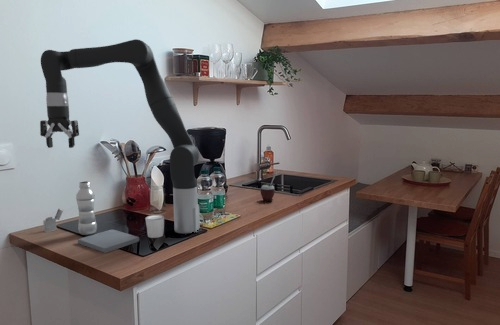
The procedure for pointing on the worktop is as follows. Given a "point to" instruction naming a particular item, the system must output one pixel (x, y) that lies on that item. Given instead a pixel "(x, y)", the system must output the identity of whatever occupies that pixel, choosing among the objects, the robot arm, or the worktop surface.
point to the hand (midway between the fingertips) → (60, 147)
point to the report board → (108, 240)
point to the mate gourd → (268, 191)
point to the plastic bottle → (86, 209)
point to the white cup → (155, 226)
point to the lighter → (52, 222)
